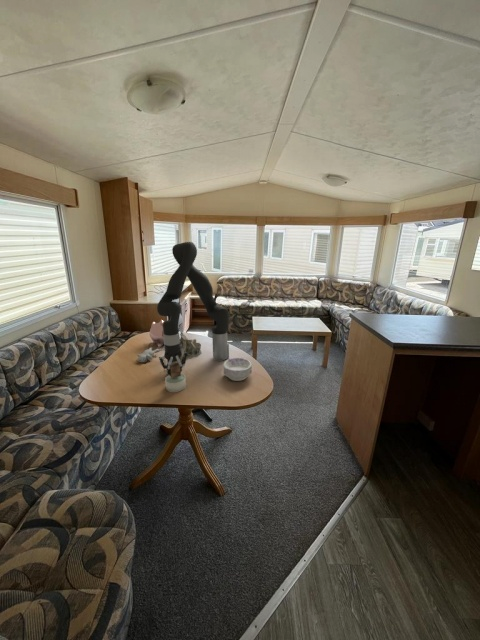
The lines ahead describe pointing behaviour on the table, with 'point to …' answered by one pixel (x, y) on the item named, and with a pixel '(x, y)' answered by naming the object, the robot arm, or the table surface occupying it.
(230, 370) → the white purple floral bowl
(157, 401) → the table surface
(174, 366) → the walnut block
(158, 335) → the piggy bank
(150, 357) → the bunny figurine
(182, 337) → the ceramic cottage
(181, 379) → the ceramic bowl
